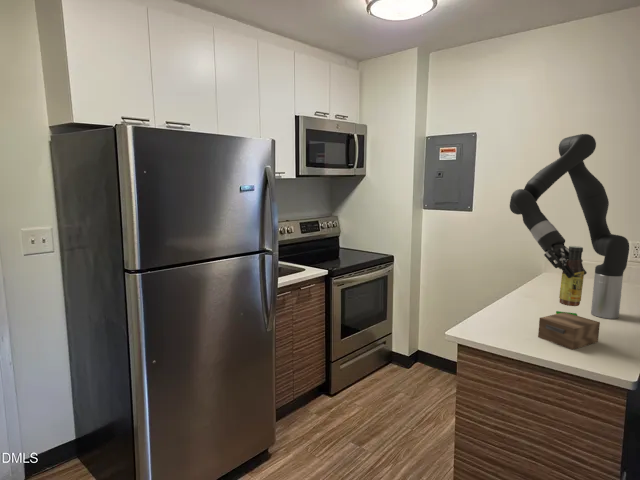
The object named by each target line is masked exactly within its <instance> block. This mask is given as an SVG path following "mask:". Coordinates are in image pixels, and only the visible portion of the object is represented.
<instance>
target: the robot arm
mask: <svg viewBox="0 0 640 480" xmlns="http://www.w3.org/2000/svg"><path fill="white" fill-rule="evenodd" d="M596 147H597V142H596V138H595V137H594V136H593V135H591V134H588V133H581V134H576V135H571V136H568V137H565V138H563V139H562V140H560V142H559V145H558V153H559V156H560V157H559V158H557V159H555V161H553V162H551V163H549V164H548V165H546V166H545V167H543V168H541V169H540V170H539V171H537V172H536V173H535V174H534V175H533V176H532V177H531V178H530V179H529V180H528V181H527V182H526V184H525V185H524V188H523V189H522V188H521V189H515V190H514V191H513V192H512V194H511V195H510V201H509V209H510V211H511V213H513V214H515V215H521V216H522V221H523V224H524V225H525V227H526V228H527V230H528V231H529V232H530V234H531V235H532V237H533V239H534V240H535V241H536V242H537V244H538V245H539V246H540V248H541V249H542V251H543V252H544V254H543V256H544V257H545V258H546V259H547V261H549V263H550V264H551V265H552V266H553V267H554V269H559V270H562V272H564V273H565V275H566V276H567V277H568V278H571V277H573V276H574V275H575V274H574V273H573V271H572V270H571V269H570V268H569V266H566V265H567V263H566V262H567V260H568V256H569V247H567V246H565V243H566V239H565V238H564V236H562V234H561V233H560V232H559V230H558V229H557V228H556V226H555V225H554V224H553V223H551V221H550V220H549V219H548V218H547V217H546V215H544V213H543V212H542V211H541V209H540V207H539V204H538V203H537V202H538V200H539V199H540V197H542V195H543V194H545V193H546V192H547V191H548V189H550V188H551V187H552V186H553V185H554V184H555V183H556V182H557V181H558V180H559V179H560V178H562V177H563V176H564V175H565V174H567V173H568V176H569V178H570V179H571V183H572V186H573V187H574V189H575V194H576V197H577V200H578V202H579V205H580V207H581V210H582V214H583V216H584V218H585V221H586V225H587V228H588V233H589V237H590V241H591V246H592V249H593V251H594V252H595V253H596V254H597V255H599V256H603V257H604V258H603V262H602V263H600V264H598V265H595V267H594V268H595V269H594V276H593V277H594V278H593V287H592V300H591V308H590V309H591V310H590V314H591V315H592V316H595V317H598V318H603V319H609V320H610V319H611V320H615V319H619V316H620V309H621V300H622V299H621V298H622V289H623V280H624V279H623V278H624V272H625V271H626V268H627V266H628V260H629V254H630V242H629V240H628V239H627V237H626V236H623V235H620V234H613V233H612V232H611V231H610V228H609V226H608V223H607V214H608V210H609V206H610V203H609V201H610V200H609V198H608V193H606V189H605V186H604V185H603V184H602V182H601V181H600V180H599V178H597V177H596V176H594V174H593V173H591V172H590V170H589V169H588V167H587V166H586V164H585V162H584V161H585V160H586V159H588V158H589V157H590V156H591V155H593V154H594V152H595V151H596ZM581 261H582V262H584V261H583V259H582V260H581ZM586 274H587V270H586V269H585V268H584V276H585V275H586Z"/></svg>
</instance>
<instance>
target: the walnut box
mask: <svg viewBox="0 0 640 480" xmlns="http://www.w3.org/2000/svg"><path fill="white" fill-rule="evenodd" d="M562 312H563V313H559V314H556V313H555V314H551V315H547V316H542V317H539V321H538V333H537V334H538V335H537V338H539V339H543V340H545V341H547V342H551V343H553V344H556V345H559V346H562V347H564V348H566V349H570V350H576V349H579V348H583V347H586V346H589V345H592V344H597V343H599V335H600V327H601V326H600V325H601V323H600V321H597V320H594V319H590V318H586V317H583V316H580V315H578V316H576V315H573V314H569V313H570V312H569V313H566V312H567V311H562Z"/></svg>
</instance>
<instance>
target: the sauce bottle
mask: <svg viewBox="0 0 640 480" xmlns="http://www.w3.org/2000/svg"><path fill="white" fill-rule="evenodd" d="M568 249H569V256H568V260H567V262H566V263H567V265H566V266H569V268H570V269H571V270H572V271H573V273H574V274H575V275H574V276H573V277H571V278H568V277H567V276H566V275H565V273H564V272H563V271H562V272H561V277H560V278H561V279H560V290H559V297H558V298H559V300H558V301H559V304H561V305H563V306H569V307H579V306H580V304H581V302H582V293H583V285H584V279H585V278H584V277H585V275H584V269H585V268H584V266H583V265H584V264H583V261H581V260H583V259H582V255H583V252H584V247H582V246H580V245H578V246H576V245H570V246H568Z"/></svg>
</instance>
